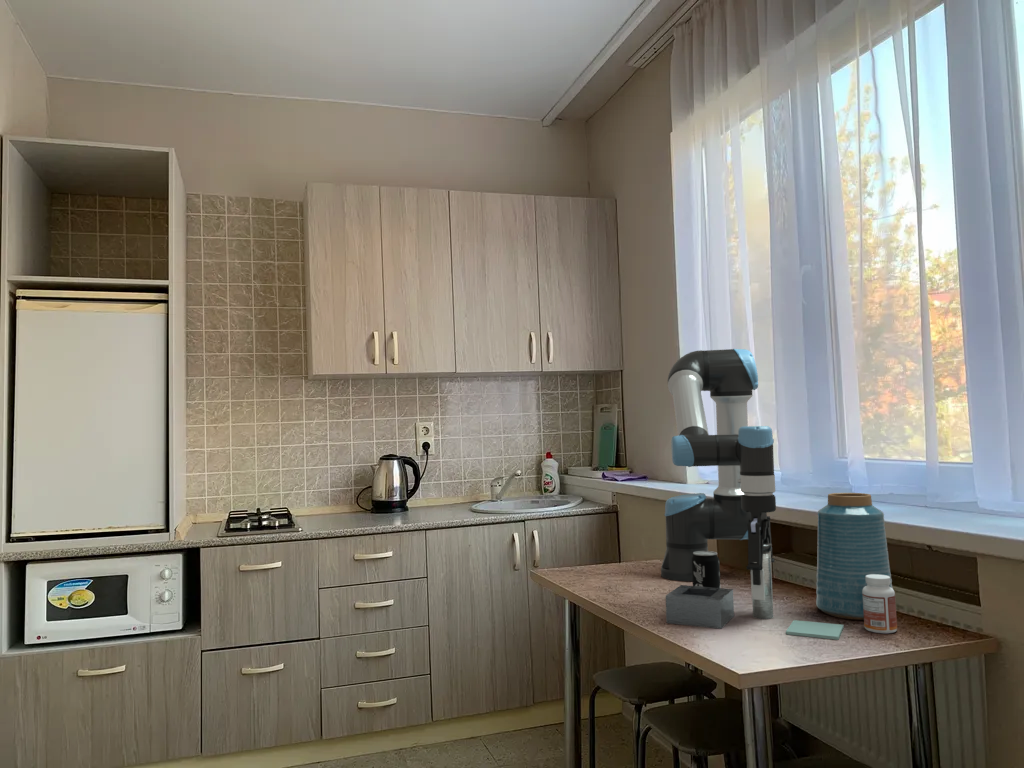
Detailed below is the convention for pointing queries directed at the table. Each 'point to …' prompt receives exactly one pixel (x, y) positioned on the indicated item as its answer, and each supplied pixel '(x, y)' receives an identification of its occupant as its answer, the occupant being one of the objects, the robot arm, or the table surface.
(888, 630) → the pill bottle
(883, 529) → the vase
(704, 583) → the beverage can
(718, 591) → the block
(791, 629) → the mat
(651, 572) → the table surface
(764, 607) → the glass tube
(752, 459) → the robot arm
